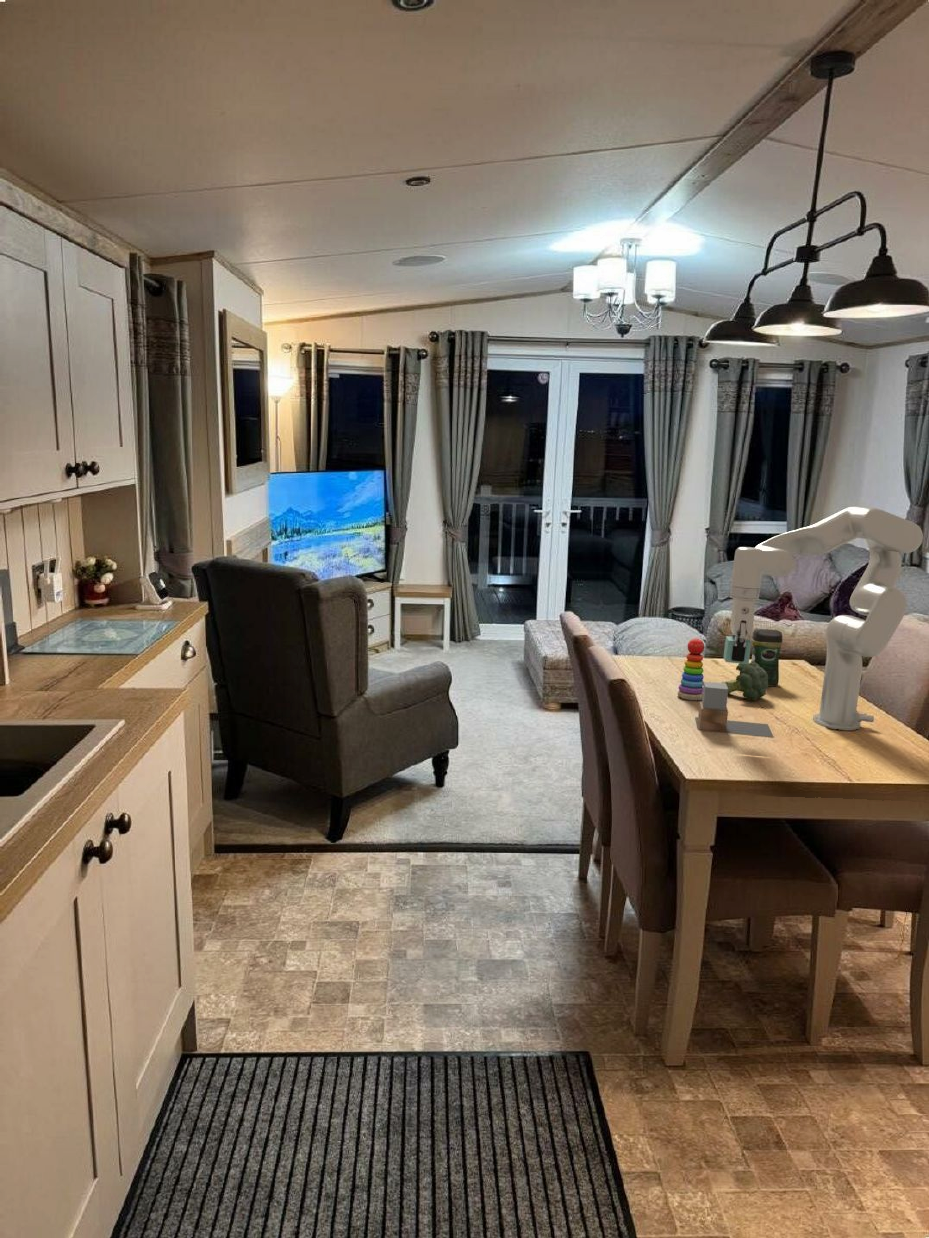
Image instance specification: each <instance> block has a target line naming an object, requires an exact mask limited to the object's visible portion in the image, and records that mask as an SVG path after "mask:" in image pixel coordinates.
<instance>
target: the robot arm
mask: <svg viewBox="0 0 929 1238" xmlns="http://www.w3.org/2000/svg"><path fill="white" fill-rule="evenodd" d="M856 539H863V540H865V541H866V543H867V547H868V551H869V561H868V565H867V566H866V569H865V571H863V574H862V576H861V577H860V579H859V581H858V582H857V584H856V586H855V588H854V589H853V592H852V593H851V596H850V599H849V607H850V608H851V610H852V611H853V612H855V613H858V614H859V615H861V616H865V617H866V618H860V617H856V616H854V615H849V614H848V615H847V614H841V615H837V616H835V617H832V619H831V620H830V621H829V623H828V624H827V626H826V631H825V639H826V641H825V643H826V660H825V667H824V674H823V683H822V688H821V689H822V691H821V699H820V708H819V712H818V713H816V714H815V715H813V716H812V721H813V722H814V723H815V724H817V725H820V726H821V727H822V726H823V727H824V728H827V729H832V730H836V729H839V731H855V730H856V729H857V730H859V729H860V728H861V723H862V722H868V723H873V722H874V720H875V718H874V715H870V714H868V713H863V712H859V711H858V709H857V707H858V701H859V695H860V694H859V693H860V687H861V686H860V685H861V679H862V678H861V677H862V672H863V658H862V657H866V658H872V657H875V656H878V655H879V654H881V653H882V652H884V650H885V649H886V647H887V646H888V644H889V642H890V641H891V639H892V637H893V636H894V634H895V633H896V631H897V629H898V627H899V625H900V624H901V622H902V620H903V618H904V617H905V614H906V611H907V607H908V600H907V597H906V595H905V593H904V591H902V590H901V589H899V588H897V587H895V586H896V583H897V581H898V579H899V577H900V575H901V572H902V558H901V555H900V554H910V553H913V552H915V551H917V549H919V547H920V546H921V545H922V543H923V540H924V534H923V530H922V528H921V527H920V526H919V525H918V524H917V523H915V522H914V521H911V520H908V519H905V518H903V517H900V516H899V515H896V514H893V513H890V512H888V511H885V510H883V509H879V508H875V507H869V506H858V505H857V506H856V505H854V506H849V507H845V508H844V509H842V510H839V511H838V512H836V513H834V514H832V515H829V516H828V517H826V518H824V519H822V520H819V521H817V522H816V523H814V524H811V525H809V526H805V527H801V528H798V529H795V530H790V531H788V532H784V533H780V534H779V535H775V536H773V537H771V538H768V539H767V540H765V541H763V542H761V543H759V544H757V545H756V546H755V547H751V546H739V547H737V548H736V549H735V552H734V559H733V566H732V567H733V568H732V573H731V574H732V575H731V576H732V577H731V581H730V582H731V583H730V591H729V598H731V599H733V600H732V607H731V608H732V609H731V614H730V616H731V617H730V628H729V629H730V631H731V637H735V644H734V646H733V651H732V661H741V662H743V661H744V657H745V649H746V647H745V646H746V638H747V636H748V638H752V637H753V632H754V620H755V619H754V618H755V607H756V606H755V605H756V602H757V601H760V599H759V598H760V592H761V584H762V578H763V576H769V577H773V578H774V577H775V578H784V577H786V576H790V575H791V574H792V573H793V572H794V570H795V568H796V563H797V562H796V559H795V558H798V557H808V556H810V557H812V556H820V555H824V554H827V553H829V552H832V551H833V550H835V549H837V548H839V547H841V546H843V545H846V544H847V543H849V542H851V541H854V540H856ZM737 639H738V640H737Z"/></svg>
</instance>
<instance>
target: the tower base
mask: <svg viewBox="0 0 929 1238" xmlns="http://www.w3.org/2000/svg"><path fill="white" fill-rule="evenodd" d="M728 717H729V710H728V707H727V706H726V710H715V709H704V708H703V705H702V701H699V707H698V725H699V730H698V731H700V730H707V731H706V732H710V731H717V732H716V733H720V732H726V727H727V720H728Z"/></svg>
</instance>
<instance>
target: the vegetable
mask: <svg viewBox="0 0 929 1238" xmlns="http://www.w3.org/2000/svg"><path fill="white" fill-rule="evenodd" d="M737 664H738V665H737V666H736V667H735V670H736V671H738V672H739V674H738V675H736V677H735V679H734V680H733V679H732V680H726V681H721V683H725V684H726V685H727V687H728V695H730V694H731V693H732V692H736V691H737V692H742V696H743V697H744V698H745V699H746V700H749V701H750V702H756V701H757V699H762V698H763V697H764V696H765V695H766V694H767V689H768V687H769V686H768V676H767V673H766V671H765V670H764V669H763V668H762V667H760V666H759V665H758V664H757V663H751V662H749V664H740V663H737Z"/></svg>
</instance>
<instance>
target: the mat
mask: <svg viewBox="0 0 929 1238" xmlns="http://www.w3.org/2000/svg"><path fill="white" fill-rule="evenodd" d="M694 718H695V719H694V720H695V724H696V729H697V731H700V732H702V731H703V732H708V731H707V730H699V725H698V717H696V716H695V717H694ZM709 732H711V733H718V732H717V731H709ZM719 733H721V734H732V735H740V736H741V735H743V736H752V737H762V738H771V739H772V738H774V739H775V736H774V733H772V731H771V729H770V726H769V724H768V723H758V722H750V721H749V722H747V721H740V720H739V721H737V720H728V719H727V727H726V732H719Z"/></svg>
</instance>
